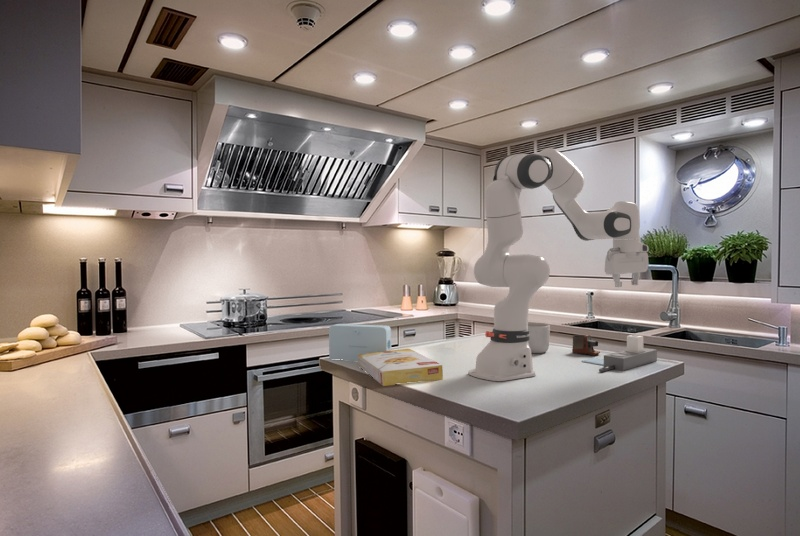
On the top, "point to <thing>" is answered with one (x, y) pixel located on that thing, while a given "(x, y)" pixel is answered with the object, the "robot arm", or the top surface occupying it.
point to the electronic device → (584, 345)
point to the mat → (594, 361)
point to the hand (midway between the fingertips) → (626, 286)
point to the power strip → (628, 359)
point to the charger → (635, 343)
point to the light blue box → (357, 340)
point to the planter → (539, 337)
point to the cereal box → (399, 367)
